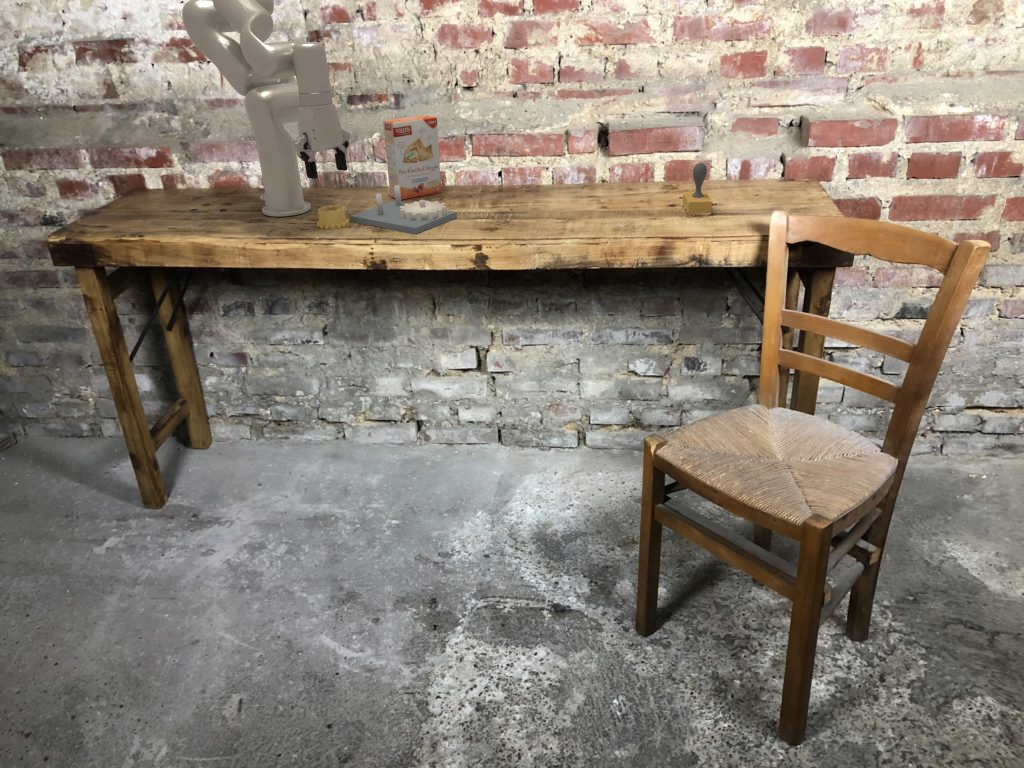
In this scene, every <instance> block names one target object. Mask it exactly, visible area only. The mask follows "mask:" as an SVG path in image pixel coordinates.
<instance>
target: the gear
mask: <svg viewBox="0 0 1024 768" xmlns="http://www.w3.org/2000/svg"><path fill="white" fill-rule="evenodd" d="M345 208H346V207H345V206H344V205H338V204H335V205H324V206H322V207H318V209H317V214H318V219H319V220H317V222H316V226H317V228H319V227H320V228H319V229H322V230H323V228H324V229H325V230H330V229H331V230H333V229H334V230H335V229H341V228H345V227H347V226H349V225H350V222H351V221H350V218H347V217H346V209H345Z"/></svg>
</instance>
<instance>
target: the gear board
mask: <svg viewBox="0 0 1024 768" xmlns="http://www.w3.org/2000/svg"><path fill="white" fill-rule="evenodd" d="M394 192H395V198H394V199H395V201H390V202H386V203H385V204H384V203H383V197H382V196H383V195H382V193H376V194H375V202H376V206H375V207H371V208H368V209H365V210H363V211H360V212H357V213H354V214H350V215H349V222H352V223H357V224H361V225H366V226H372V227H376V228H381V227H382V229H386V230H393V231H398V232H404V233H407V234H408V233H409V234H412V235H417V234H419V233H422V232H425V231H427V230H429V229H432V228H435V227H437V226H440V225H443V224H445V223H448V222H450V221H452V220H455V219H457V218H458V212H457V211H452V210H447V206H446V204H445V203H444V202H441V203H440V201H438V200H436V201H435V200H434V201H429V200H426V199H419V201H413V202H411V203H405V202H402V200H401V194H400V186H399V185H395V186H394Z"/></svg>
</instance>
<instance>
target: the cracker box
mask: <svg viewBox="0 0 1024 768" xmlns="http://www.w3.org/2000/svg"><path fill="white" fill-rule="evenodd" d="M382 124H383V133H384V134H383V135H384V142H385V154H386V166H387V175H388V176H387V177H388V186H389V196H390V197H391V198H394V199H395V192H394V186H395V185H399V186H400V194H401V201H402V200H407V199H413V198H417V197H418V196H419V197H424V196H429V195H434V194H440V193H442V183H441V182H442V181H441V180H442V179H441V167H440V166H441V164H440V150H439V149H440V148H439V147H440V146H439V144H440V143H439V133H438V132H439V131H438V130H439V129H438V118H437V117H436V116H433V115H428V114H425V115H418V116H417V115H416V116H409V117H400V118H391V119H386V120H383V121H382Z"/></svg>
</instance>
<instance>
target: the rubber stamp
mask: <svg viewBox="0 0 1024 768" xmlns="http://www.w3.org/2000/svg"><path fill="white" fill-rule="evenodd" d="M707 168H708V167H707V166H706V164H705V163H702V162H697V163H696V164H695V165H694V167H693V169H692V178H693V181H694V184H695V191H684V192H683V193H682V203H683V205H684V207H685V209H686V211H687V213H689V214H691V213H692V214H693V213H711V214H712V209H713V201H712V199H711V198H710V197H709V195H708V194H707V193H706V191H702V186H703V183H704V182H705V179H706V177H707V174H708V169H707ZM683 205H682V206H683ZM684 207H683V208H684ZM685 209H684V210H685ZM686 211H685V212H686ZM687 213H686V214H687Z"/></svg>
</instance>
